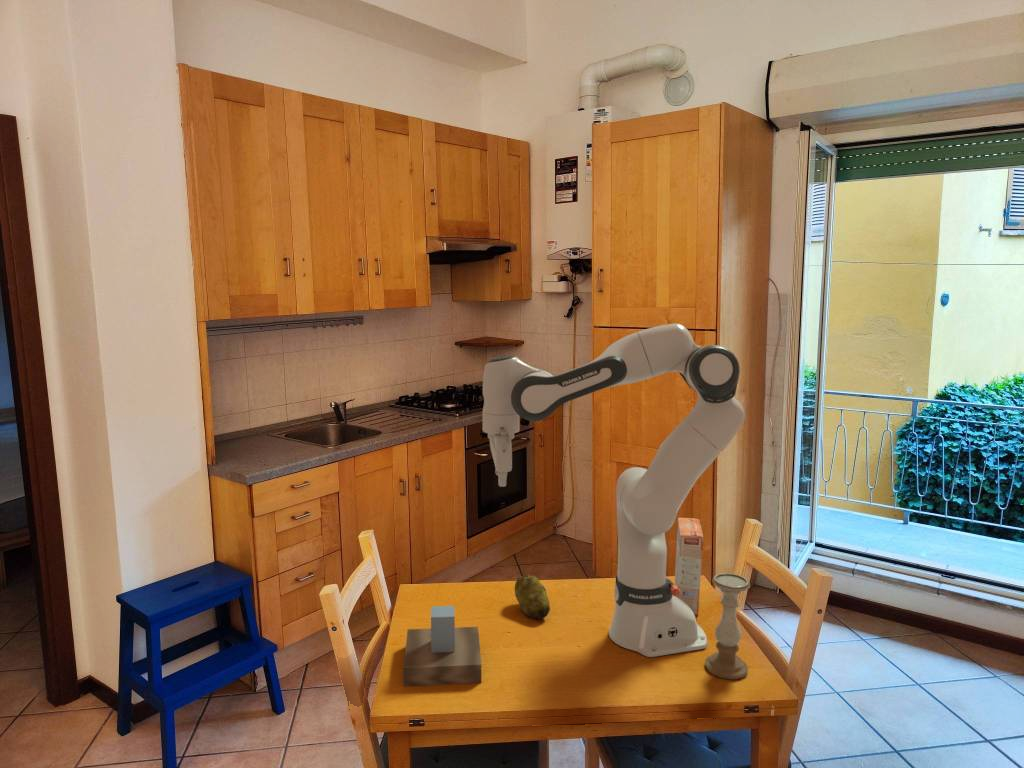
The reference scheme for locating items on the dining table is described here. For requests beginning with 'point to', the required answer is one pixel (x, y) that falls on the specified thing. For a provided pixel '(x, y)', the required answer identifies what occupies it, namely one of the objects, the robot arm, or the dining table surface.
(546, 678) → the dining table surface
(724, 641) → the candle holder
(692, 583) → the cracker box
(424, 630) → the plinth
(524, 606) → the potato
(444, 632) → the block
